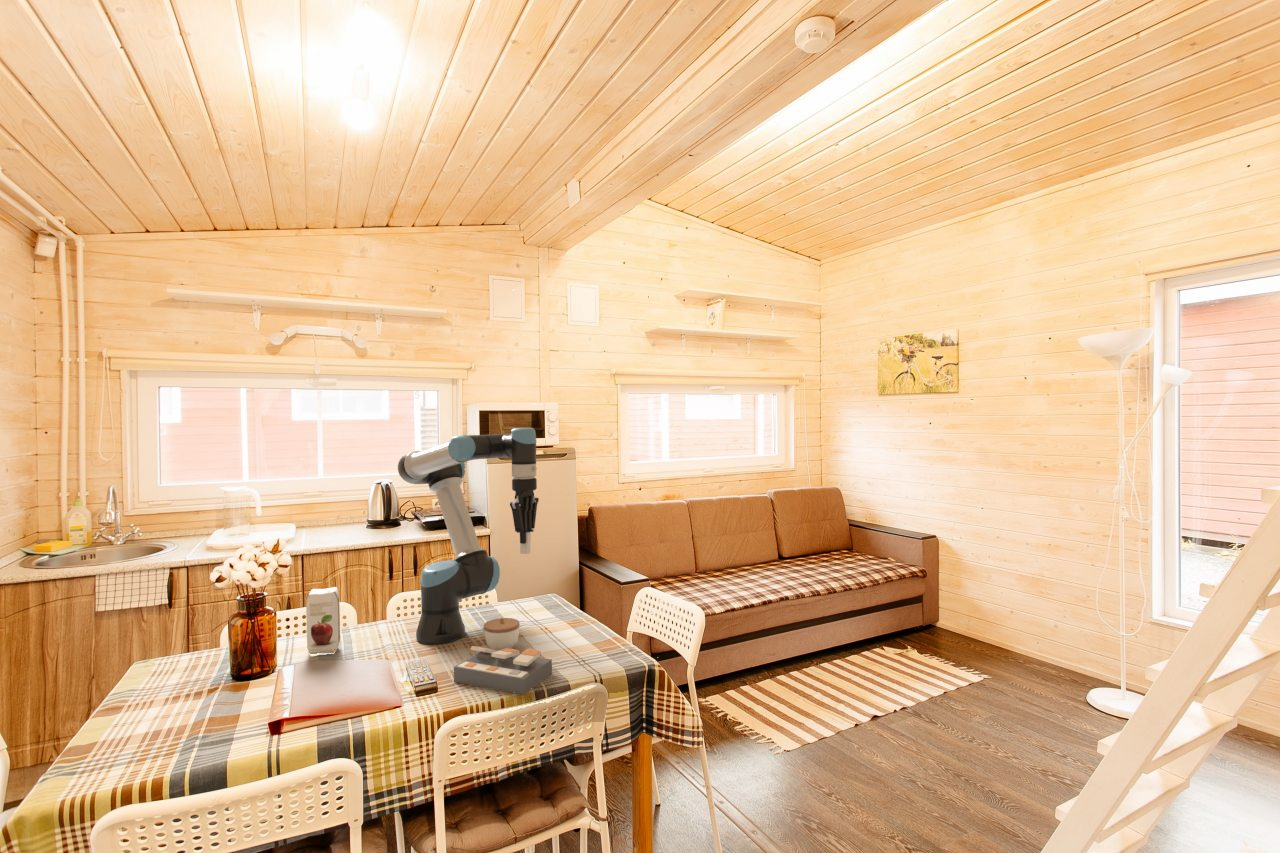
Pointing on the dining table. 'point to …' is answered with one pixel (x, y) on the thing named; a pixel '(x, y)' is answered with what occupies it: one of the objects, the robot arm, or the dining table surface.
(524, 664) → the switch
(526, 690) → the switch unit
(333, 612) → the juice carton
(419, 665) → the dining table surface
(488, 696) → the dining table surface
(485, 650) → the switch
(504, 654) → the switch
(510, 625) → the lidded jar
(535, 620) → the dining table surface
